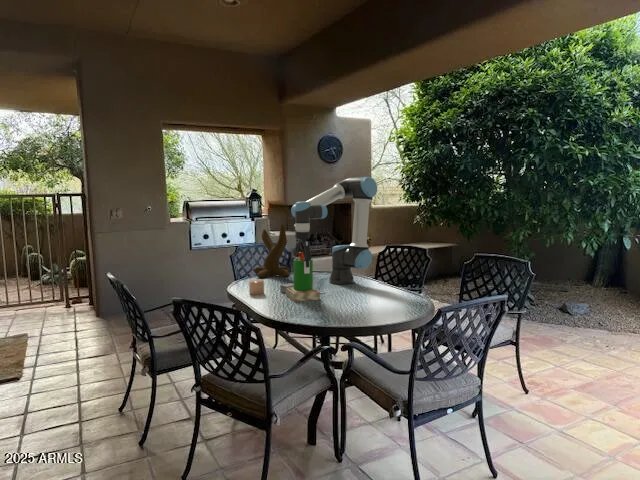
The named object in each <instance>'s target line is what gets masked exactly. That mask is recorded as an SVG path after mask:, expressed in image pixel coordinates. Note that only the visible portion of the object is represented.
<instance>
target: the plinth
mask: <svg viewBox="0 0 640 480" xmlns="http://www.w3.org/2000/svg"><path fill="white" fill-rule="evenodd" d="M285 294H286V295H285V296H287V297H288V298H289V299H290V300H291V301H293V302H305V301H317V300H320V298H321V292H320V290H317V289H316V288H314V287H313V289H312V290H306V291H300V290H294V287H289V288H286V293H285Z"/></svg>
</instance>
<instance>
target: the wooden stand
mask: <svg viewBox="0 0 640 480" xmlns="http://www.w3.org/2000/svg"><path fill="white" fill-rule="evenodd" d="M279 227H280V230H279V233H278V235H279V236H278V239H277V241H276V244H275V243H274V242H273V240H272V238H271V237H270V235H269V233H268V231H267V230H266V228H263V229H262V233H261V240H262V242H263V244H264V245H265V247H266V249H267V251H268V254H267V256H266V257H265V258H264V262H263V266H257V267H255V268H253V272H254V273H256V276H257V278H262V279H266V277H267V278H269V277H268V276H270V277H272V276H271V275H279V276H284V277H283V278H286V277H290V276H291V273H290V271H291V270H290V267H287V266H284V265H283V266H282V265H280V263H279V262H280V258H282V256H283V253H284V249H285V248H286V247H287V243H288V240H287V232H286V227H285V224H284V223H281V224H280V226H279ZM279 276H278V277H279Z"/></svg>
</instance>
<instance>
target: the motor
mask: <svg viewBox="0 0 640 480" xmlns="http://www.w3.org/2000/svg"><path fill="white" fill-rule="evenodd" d="M298 257H300V261H298V259H296V258H294V259H293V284H294V290H300V291H306V290H312V289H313V288H314V286H313V285H314V284H313V283H314V282H313V281H314V280H313V278H314V277H313V276H314V275H313V271H314V270H313V269H314V267H313V266H314V264H313V262H314V260H313V259H311V260H310V273H307V274H304V255H303V251H302V252H299V253H298Z"/></svg>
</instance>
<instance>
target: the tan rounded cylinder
mask: <svg viewBox="0 0 640 480" xmlns="http://www.w3.org/2000/svg"><path fill="white" fill-rule="evenodd" d="M248 284H249V285H248V286H249V287H248V288H249V291H248V293H249V295H250V296H255V297H256V296H262V295H264V294H265V281H264V280H262V279H253V280H252V279H251V280H249V283H248Z"/></svg>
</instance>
